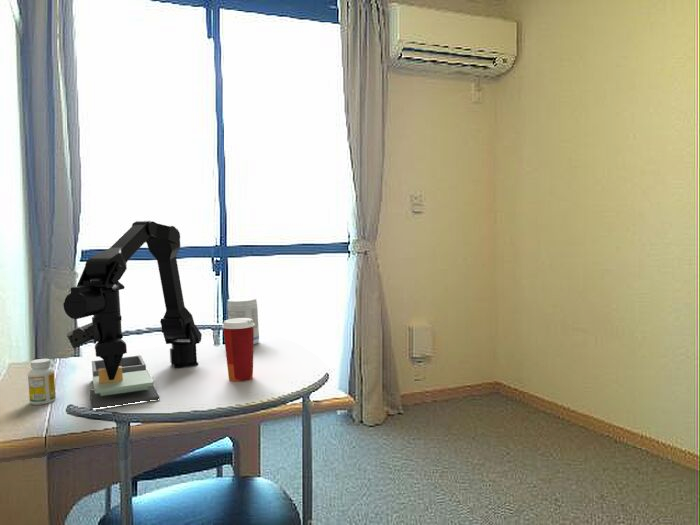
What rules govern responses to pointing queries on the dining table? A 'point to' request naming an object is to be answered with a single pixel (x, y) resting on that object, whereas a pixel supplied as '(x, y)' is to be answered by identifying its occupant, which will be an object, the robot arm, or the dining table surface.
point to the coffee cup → (239, 348)
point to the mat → (123, 397)
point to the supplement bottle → (41, 382)
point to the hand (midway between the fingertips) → (111, 378)
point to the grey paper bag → (244, 312)
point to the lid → (121, 382)
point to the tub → (126, 362)
